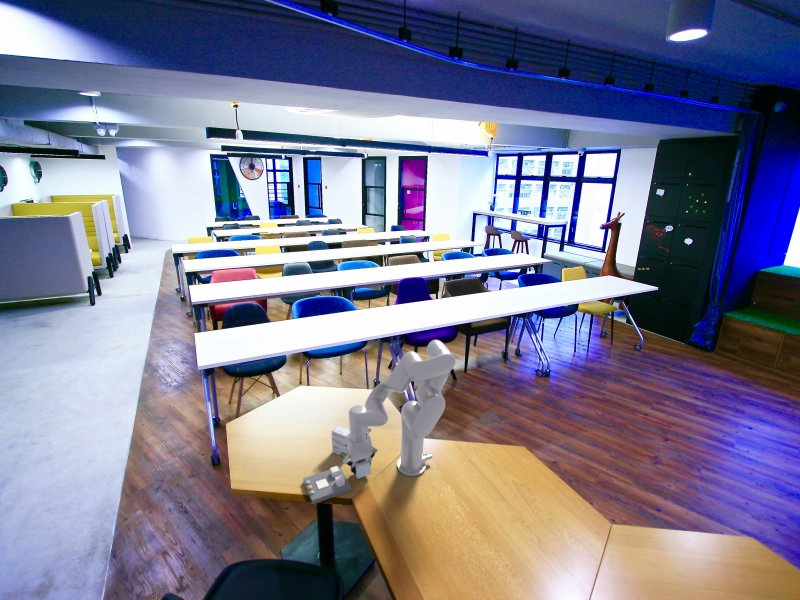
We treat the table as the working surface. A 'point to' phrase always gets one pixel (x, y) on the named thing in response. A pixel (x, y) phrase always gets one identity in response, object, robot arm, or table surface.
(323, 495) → the breaker panel
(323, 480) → the button
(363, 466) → the cap
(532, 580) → the table surface
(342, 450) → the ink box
